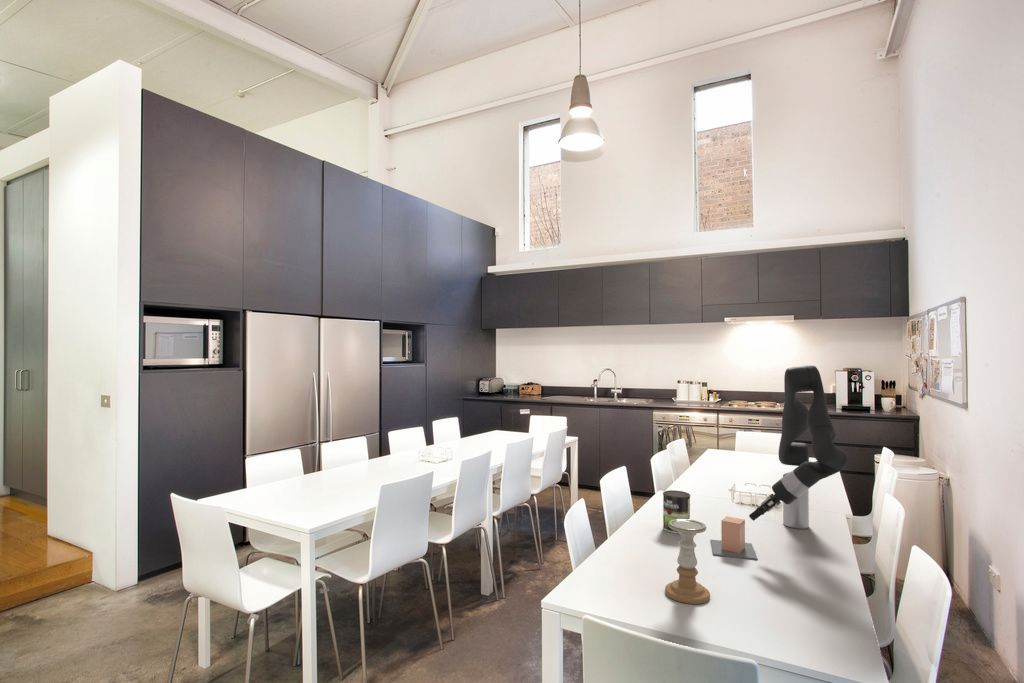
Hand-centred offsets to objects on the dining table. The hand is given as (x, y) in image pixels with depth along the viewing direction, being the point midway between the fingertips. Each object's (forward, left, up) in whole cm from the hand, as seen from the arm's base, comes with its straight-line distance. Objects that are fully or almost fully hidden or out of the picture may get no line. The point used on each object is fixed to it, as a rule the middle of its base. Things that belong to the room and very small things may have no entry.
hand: (754, 515), depth 186 cm
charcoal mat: (-3, -7, -14) cm, 15 cm away
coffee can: (-20, -26, -14) cm, 35 cm away
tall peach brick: (-3, -7, -13) cm, 15 cm away
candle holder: (+39, -23, -14) cm, 48 cm away
